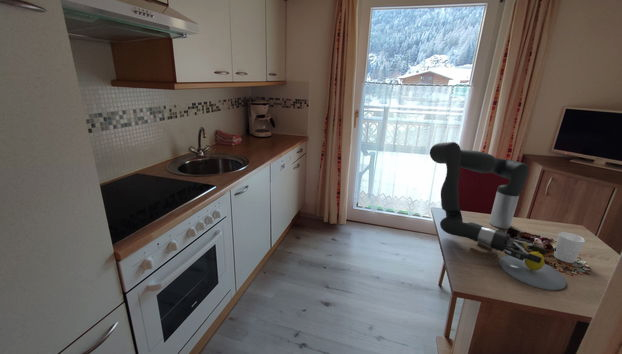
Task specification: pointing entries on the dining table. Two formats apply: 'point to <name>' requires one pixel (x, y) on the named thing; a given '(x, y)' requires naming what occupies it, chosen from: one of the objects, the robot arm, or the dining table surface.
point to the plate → (533, 274)
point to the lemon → (534, 265)
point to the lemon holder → (484, 254)
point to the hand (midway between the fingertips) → (543, 256)
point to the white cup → (568, 247)
